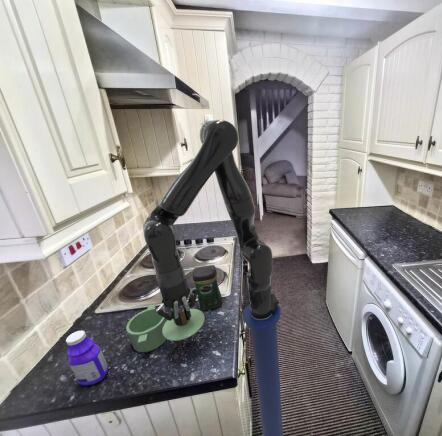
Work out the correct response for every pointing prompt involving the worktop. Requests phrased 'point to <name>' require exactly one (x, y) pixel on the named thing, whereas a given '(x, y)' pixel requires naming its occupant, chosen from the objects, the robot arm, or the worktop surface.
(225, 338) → the worktop surface
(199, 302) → the coffee jar
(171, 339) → the lid
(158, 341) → the pot
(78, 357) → the bottle
